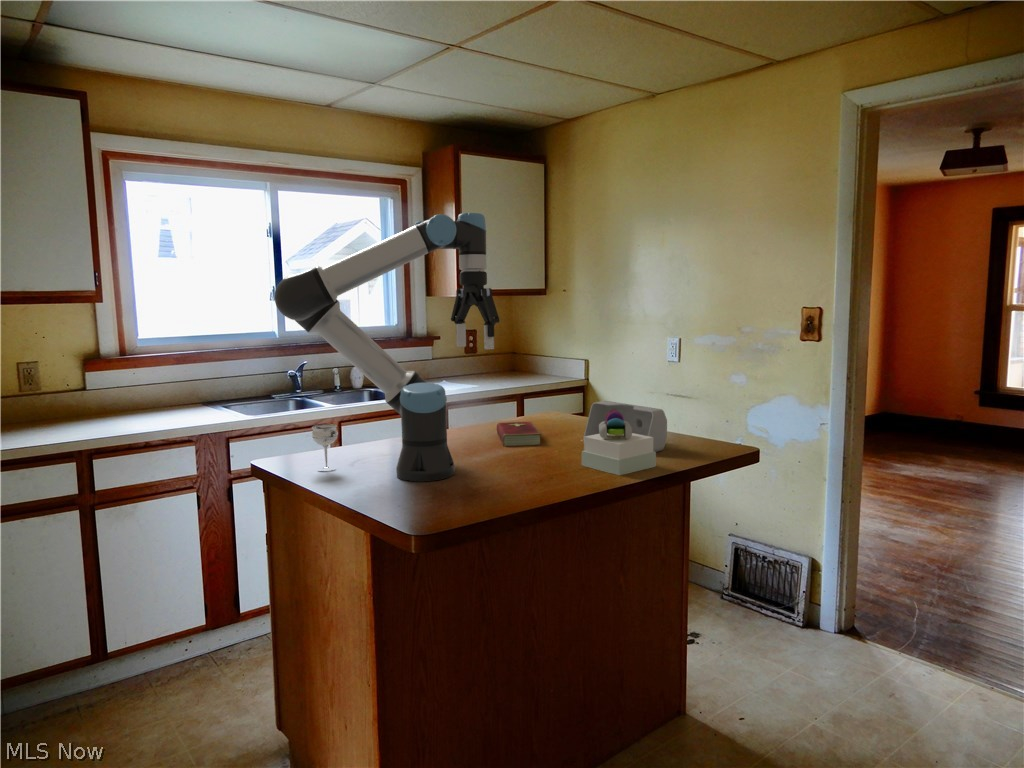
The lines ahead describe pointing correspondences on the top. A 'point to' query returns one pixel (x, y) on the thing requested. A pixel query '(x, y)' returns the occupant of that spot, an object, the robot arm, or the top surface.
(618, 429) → the chunky wheeled toy
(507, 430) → the hardcover book
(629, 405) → the light grey storage bin
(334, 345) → the robot arm
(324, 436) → the wineglass
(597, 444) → the grey square box
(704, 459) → the top surface
